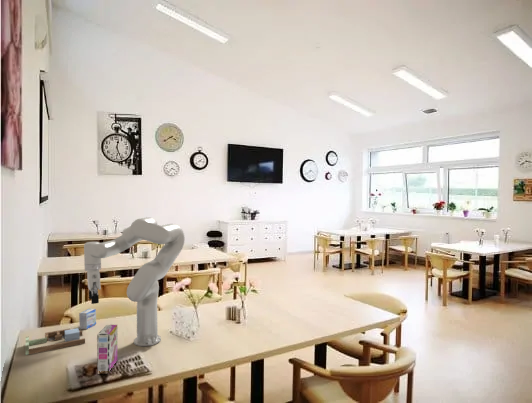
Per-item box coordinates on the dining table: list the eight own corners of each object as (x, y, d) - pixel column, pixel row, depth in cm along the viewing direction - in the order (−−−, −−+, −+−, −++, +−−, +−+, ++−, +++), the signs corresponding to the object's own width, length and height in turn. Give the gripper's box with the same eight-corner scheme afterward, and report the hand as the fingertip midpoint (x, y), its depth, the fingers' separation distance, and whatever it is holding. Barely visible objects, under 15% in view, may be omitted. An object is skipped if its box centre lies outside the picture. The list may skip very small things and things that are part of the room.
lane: (85, 343, 182) (84, 335, 182) (25, 355, 169) (25, 346, 169) (80, 331, 197) (80, 323, 197) (26, 341, 184) (25, 333, 184)
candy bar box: (109, 374, 151) (109, 334, 151) (97, 375, 151) (96, 334, 150) (118, 361, 162) (117, 324, 162) (106, 362, 162) (105, 324, 161)
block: (79, 342, 183) (79, 332, 183) (65, 344, 180) (65, 334, 180) (78, 338, 189) (78, 328, 188) (64, 340, 185) (64, 330, 185)
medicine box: (86, 329, 199) (86, 313, 199) (79, 329, 200) (78, 312, 200) (96, 324, 207) (96, 308, 207) (89, 323, 208) (88, 308, 208)
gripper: (103, 268, 183) (104, 304, 184) (98, 263, 198) (99, 295, 198) (86, 270, 179) (87, 306, 180) (82, 264, 194) (83, 298, 195)
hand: (93, 300), depth 189 cm, fingers open, 9 cm apart
